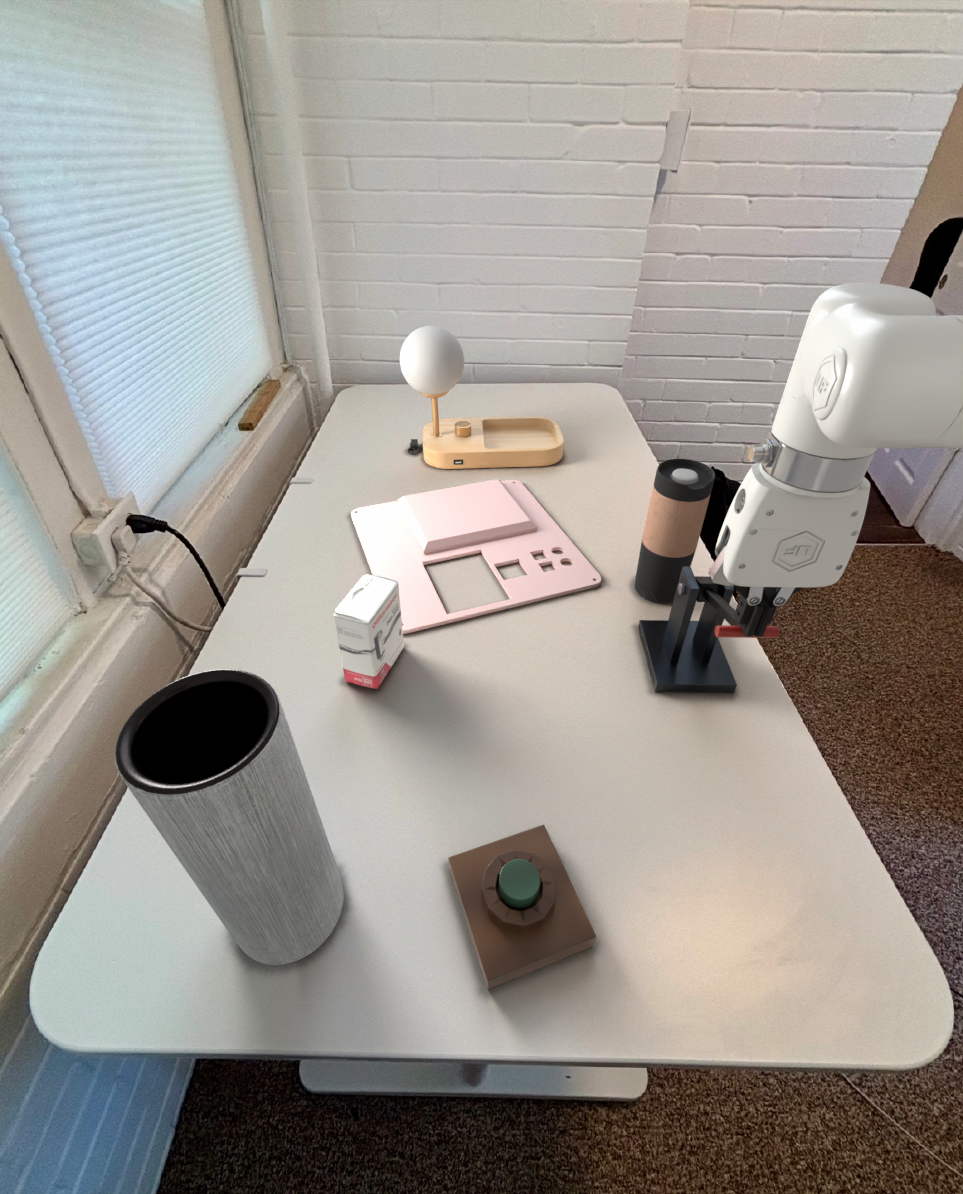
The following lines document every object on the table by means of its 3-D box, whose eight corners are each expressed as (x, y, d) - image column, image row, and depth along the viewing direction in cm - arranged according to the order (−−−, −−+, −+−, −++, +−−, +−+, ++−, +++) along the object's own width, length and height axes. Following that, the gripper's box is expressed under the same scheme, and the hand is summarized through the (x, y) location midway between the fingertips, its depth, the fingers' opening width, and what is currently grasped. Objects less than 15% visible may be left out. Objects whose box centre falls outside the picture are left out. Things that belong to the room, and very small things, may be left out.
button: (545, 900, 52) (547, 891, 51) (507, 915, 51) (508, 906, 50) (529, 862, 54) (530, 853, 53) (493, 875, 53) (493, 866, 52)
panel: (349, 512, 108) (347, 501, 107) (517, 481, 117) (518, 470, 115) (394, 636, 83) (393, 624, 81) (604, 584, 91) (606, 572, 90)
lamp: (554, 431, 135) (563, 312, 118) (566, 466, 121) (578, 337, 105) (409, 434, 134) (398, 315, 117) (405, 471, 120) (392, 341, 104)
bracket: (734, 693, 74) (767, 611, 66) (654, 691, 75) (677, 610, 66) (708, 628, 84) (734, 548, 75) (637, 627, 84) (655, 548, 75)
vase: (347, 848, 59) (289, 660, 42) (341, 958, 52) (267, 784, 34) (244, 860, 58) (142, 673, 41) (223, 974, 51) (86, 803, 33)
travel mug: (644, 567, 95) (669, 453, 82) (691, 585, 91) (724, 467, 78) (624, 592, 90) (646, 474, 77) (672, 611, 87) (704, 491, 74)
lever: (777, 645, 59) (781, 623, 58) (717, 644, 59) (720, 622, 58) (723, 594, 73) (726, 576, 72) (675, 594, 73) (677, 575, 72)
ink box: (379, 692, 75) (367, 622, 67) (344, 682, 76) (328, 613, 69) (407, 646, 81) (399, 578, 74) (374, 638, 82) (363, 570, 75)
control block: (593, 946, 52) (599, 927, 50) (487, 990, 50) (487, 973, 47) (542, 835, 60) (545, 814, 58) (448, 867, 58) (447, 847, 55)
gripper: (734, 481, 44) (682, 653, 56) (935, 483, 44) (840, 655, 56) (707, 438, 50) (665, 602, 62) (885, 439, 50) (809, 603, 62)
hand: (748, 626), depth 59 cm, fingers closed
